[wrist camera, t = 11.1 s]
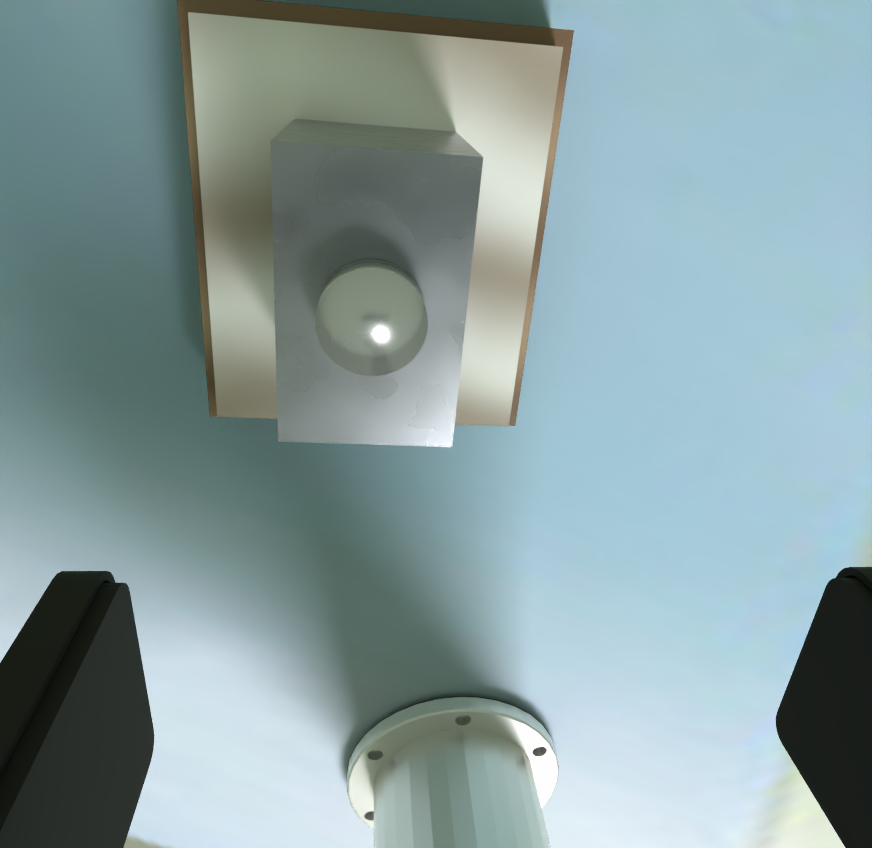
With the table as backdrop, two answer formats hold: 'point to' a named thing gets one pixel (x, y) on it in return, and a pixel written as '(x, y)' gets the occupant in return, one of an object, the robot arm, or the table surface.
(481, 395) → the stand
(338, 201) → the block
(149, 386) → the table surface
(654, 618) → the table surface
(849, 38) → the table surface
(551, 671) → the table surface
